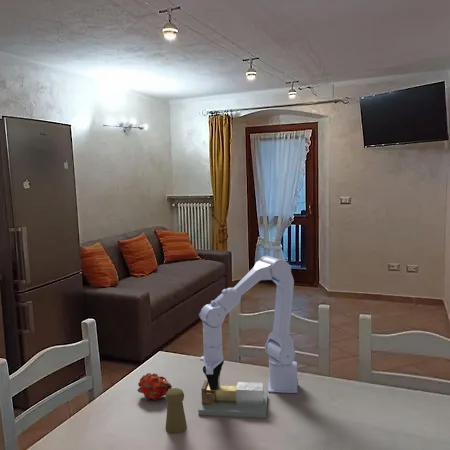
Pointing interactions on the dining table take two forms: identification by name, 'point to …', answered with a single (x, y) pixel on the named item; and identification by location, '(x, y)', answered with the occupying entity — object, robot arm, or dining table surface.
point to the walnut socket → (207, 395)
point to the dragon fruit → (153, 386)
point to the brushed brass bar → (223, 392)
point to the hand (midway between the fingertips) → (214, 386)
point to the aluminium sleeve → (249, 394)
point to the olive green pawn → (175, 411)
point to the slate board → (234, 409)
